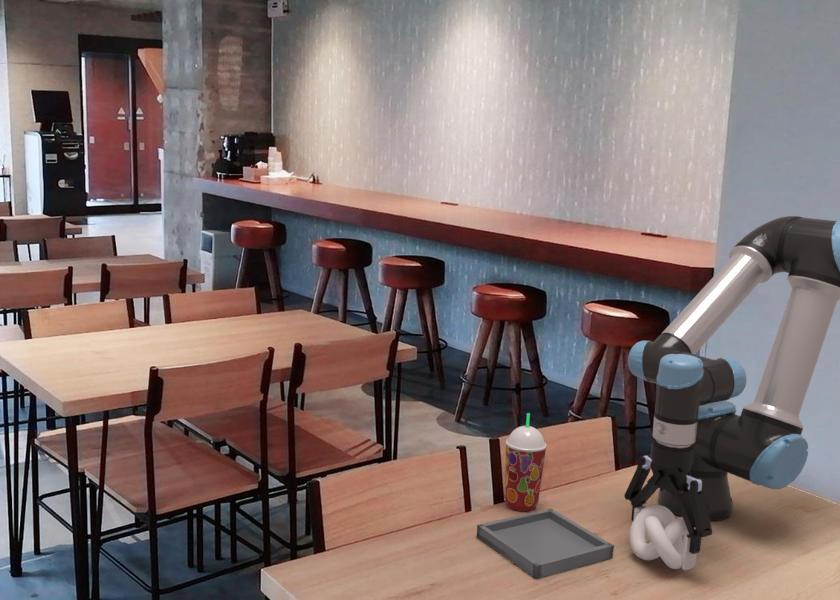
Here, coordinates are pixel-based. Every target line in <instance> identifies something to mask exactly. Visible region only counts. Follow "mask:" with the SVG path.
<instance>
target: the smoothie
mask: <svg viewBox="0 0 840 600" xmlns="http://www.w3.org/2000/svg"><path fill="white" fill-rule="evenodd" d="M530 418H531V413H530V412H527V413H526V421H525V425H522V426H521V425H520V426H518V427H516V428H514V429H513V430H512V432H511V433H510V434H509V436H508V438H506V440H505V476H504V477H505V484H504V485H505V487H504V489H505V491H504V492H505V494H504V495H505V496H504V498H505V501H506V502H507V506H508V507H509V508H511V510H514V509H515V511H517V510H519V512H529V510H530V511H533V510H534V509H535V508H536V505H537V504H538V503H539V498H540V492H541V485H542V484H541V483H542V478H543V471H544V465H545V458H546V450H547V445H548V444H547V443H546V442H545V439H544V436H543V434H542V433H541V432H540V431H539V430H538V429H537V428H536V427H534V426H531V425H530Z"/></svg>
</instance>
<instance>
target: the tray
mask: <svg viewBox="0 0 840 600" xmlns="http://www.w3.org/2000/svg"><path fill="white" fill-rule="evenodd" d="M476 538H477V540H479V541H481V543H484V544H486V546H488V547H489V548H491V549H492V548H493V550H494V551H495V550H496V551H495V552H496V553H498V554H499V553H500V555H501V556H502V555H503V556H502V557H504V558H505V559H506V560H508V561H509V560H510V561H509V562H511V563H512V562H513V563H512V564H514V565H515V564H516V565H517V566H516V565H515V566H516V567H518V568H519V567H520V569H521V570H522V571H524V572H525V573H526V574H528V575H529V576H531V577H532V578H534V579H535V580H539V579H542V578H546V577H549V576H553V575H556V574H560V573H564V572H567V571H571V570H574V569H577V568H582V567H586V566H591V565H592V564H597V563H600V562H604V561H608V560H610V559H613V556H614V550H615V549H614V548H615V545H614V544H612V543H611V542H609V541H607V540H605V539H604V538H601V537H600V536H599V535H597V534H595V533H594V532H591V531H590V530H588V529H587V528H585V527H583V526H581V525H579V524H578V523H576V522H575V521H573V520H571V519H570V518H568V517H566V516H564V515H562V514H561V513H559V512H557V511H556V510H554V509H553V508H547V509H543V510H538V511H533V512H529V513H525V514H520V515H516V516H515V515H514V516H512V517H511V516H510V517H507V518H503V519H498V520H495V521H494V520H493V521H489V522H485V523H480V524H477V526H476Z"/></svg>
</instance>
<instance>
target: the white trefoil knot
mask: <svg viewBox="0 0 840 600" xmlns="http://www.w3.org/2000/svg"><path fill="white" fill-rule="evenodd" d="M646 506H647V507H645V508H644V509H642V510H641V511H640V512H639V513H638V514H637V516H636V517H635V519H634V521H632V523H631V527H630V531H629V542H630V547H631V550H632V552H633V554H635V556H636V557H638V558H639V559H642V560H644V561H652V560H656V559H658V558H661V560H662V562H664V564H665V565H666V566H667V567H668V568H669V569H673V570H678V569H681V568H682V558H683V548H684V538H685V534H689V533H688V530H687V527H686V525H685V522H684V519H683V517H681V516H679V517H678V518H676V515H675V514H673V513H672V512H671V511H670V510H669V509H668V508H666V507H664V506H662V505H660V504H649V505H646ZM694 529H696V528H695V527H694ZM647 538H648V541H649V542H648V543H647Z"/></svg>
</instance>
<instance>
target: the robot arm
mask: <svg viewBox="0 0 840 600" xmlns="http://www.w3.org/2000/svg"><path fill="white" fill-rule="evenodd" d="M728 257H729V259H728V260H727V262H726V263H725V264H724V265H722V267H721V268H720V269H719V270H718V271H717V273H715V274H714V276H712V278H711V279H710V280H709V281H708V282H707V283H706V284H705V286H703V288H701V290H700V291H699V292H698V293H697V294H696V295H695V297H693V298H692V300H691V301H690V302H689V303H688V304H687V305H686V306H685V307H684V308H683V309H682V311H680V312H679V314H678V315H677V316H676V317H675V318H674V319H673V320H672V321H671V323H670V324H669V325H668V326H667V327H666V328H665V329H664V330H663V331H662V332H661V334H659V336H657V338H656V339H655V340H654V341H652V340H640V341H637V342H636V343H635V344H633V346H632V347H631V348H630V351H629V353H628V355H627V366H628V369H629V372H630V373H631V374H632V375H633V376H635V377H637V378H639V379H641V380H643V381H645V382H648V383H653V384H656V390H655V391H656V393H655V409H654V414H653V425H652V438H653V439H651V444H650V454H648V455H643V456H640V457H638V459H637V466H636V469H635V471H634V473H633V476H632V479H631V480H630V482H629V485H628V487H627V489H626V491H625V493H624V496H623V497H624V499H625V500H627V501H629V502H630V504H631V507H632V509H631V522H633V521H634V519H635V517H636V516H637V514H638V513H639V512H640V511H641V510H642V509H644V508H645V507H647V506H648V505H645V504H647V501H649V499H650V498H651V497H652V496H653V495H654V494H655V492H657V490H658V489H659V490H658V496H657V502H658V505H662V506H664V507H666V508H668V509H669V510H670V511H671V512H672V513H673V515H674V516H679V517H683V519H684V522H685V525H686V527H687V530H688V533H689V534H685V538H684V548H683V558H682V567H681V568H680V569H682V570H683V571H688V570H690V569H693V568H696V566H697V565H696V562H697V554H698V553H700V551H701V547H702V546H701V544H702V538H706V537H708V536H712V534H713V529H712V525H711V522H714V521H715V522H716V521H721V520H725V519H728V518H729V517H730V516H732V513H733V506H734V504H733V502H734V501H733V499H732V496H731V489H730V484H729V483H730V482H729V479H728V474H731V475H733V476H735V477H738V478H741V479H743V480H746V481H749V482H750V483H752V484H754V485H756V486H761V487H765V488H767V489H771V490H780V489H783V488H786V487H787V486H789V485H790V484H791V483H792V482H794V481H795V480H796V479H797V478H798V476H799V475H800V474H801V472H802V471H803V469H804V467H805V465H806V463H807V460H808V456H809V450H808V449H809V445H808V441H807V439H806V438H805V437H804V436H803V435H802V432H803V431H804V425H803V423H802V422H801V420H800V417H799V415H800V412H801V410H802V407H803V405H804V401H805V398H806V395H807V392H808V390H809V386H810V383H811V380H812V378H813V374H814V371H815V368H816V366H817V363H818V359H819V356H820V354H821V351H822V348H823V345H824V342H825V339H826V336H827V333H828V330H829V328H830V325H831V321H832V318H833V316H834V313H835V309H836V306H837V304H838V302H839V301H840V220H828V219H819V218H810V217H802V216H798V215H797V216H796V215H787V216H780V217H777V218H774V219H772V220H770V221H767V222H765V223H763V224H762V225H760V226H758V227H756V228H755V229H753V230H752V231H750V232H749V233H748V234H746V235H745V236H743V238H741V239H740V240H739V241H738V242H737V243H736V244H735V246H733V247H732V249H731V250H730V252H729V256H728ZM779 273H787V274H788V275H787V277H786V280H787V281H788V283H789V286H791V291H790V294H789V297H788V299H787V302H786V305H785V309H784V312H783V315H782V317H781V320H780V323H779V327H778V329H777V333H776V335H775V338H774V341H773V343H772V347H771V350H770V352H769V355H768V359H767V362H766V363H765V364H766V365H765V368H764V371H763V373H762V376H761V379H760V382H759V385H758V388H757V391H756V394H755V397H754V400H753V402H751V403H749V404H747V405H744V406H743V408H742V411H741V413H740V415H738V414H736V413H737V409H736V408H737V407H736V405H735V404H734V403H733V402H730V401H729V400H731V399H733V398H735V397H738V396H739V395H741V394H742V393H743V392H744V391H745V389H746V387H747V386H746V385H747V373H746V371H745V369H744V367H743V365H742V364H741V363H740V362H739V361H737V360H736V359H733V358H730V357H727V358H726V357H724V358H723V357H720V358H719V357H718V358H716V359H714V358H713V359H712V358H708V357H705V356H701V355H697V353H698V351H700V349H702V348H703V346H704V345H705V344H706V343H707V342H708V341H709V340H710V339H711V337H712V336H713V335H714V334H715V332H717V330H719V328H721V326H722V325H723V324H724V322H726V320H728V318H729V317H730V316H731V315H732V313H734V312H735V311H736V309H737V308H738V307H739V306H740V305H741V304H742V303H743V301H744V300H745V299H746V298H747V297H748V296H749V295H750V293H752V292H753V290H754V289H755V288H756V287H757V286H758V285H759V284H763V283H766V282H768V281H769V280H770V279H771V278H772V277H773V276H774V275H776V274H779ZM650 472H652V475H651V477H650V478H649V479H648V480H647V478H648V476H649V474H650ZM645 482H646V484H645ZM694 527H695V528H696V529H694Z"/></svg>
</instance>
